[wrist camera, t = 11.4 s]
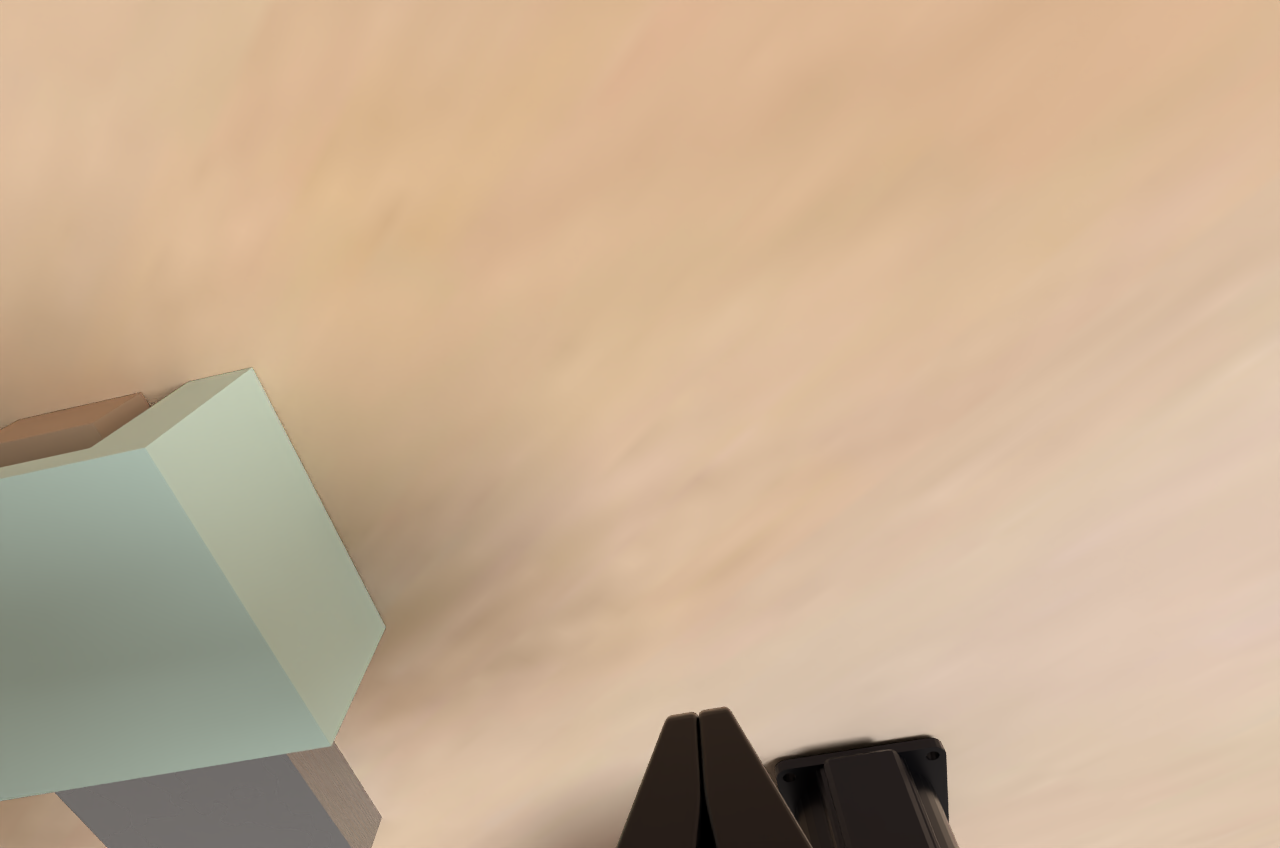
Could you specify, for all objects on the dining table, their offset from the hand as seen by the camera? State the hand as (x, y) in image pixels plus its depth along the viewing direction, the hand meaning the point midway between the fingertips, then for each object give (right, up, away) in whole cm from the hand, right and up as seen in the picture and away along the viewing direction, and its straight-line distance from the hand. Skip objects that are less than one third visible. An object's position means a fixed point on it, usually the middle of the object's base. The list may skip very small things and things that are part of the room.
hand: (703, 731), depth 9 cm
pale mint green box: (-19, 0, +14) cm, 23 cm away
